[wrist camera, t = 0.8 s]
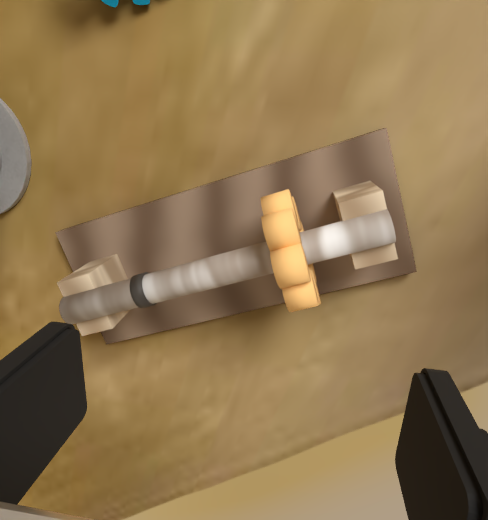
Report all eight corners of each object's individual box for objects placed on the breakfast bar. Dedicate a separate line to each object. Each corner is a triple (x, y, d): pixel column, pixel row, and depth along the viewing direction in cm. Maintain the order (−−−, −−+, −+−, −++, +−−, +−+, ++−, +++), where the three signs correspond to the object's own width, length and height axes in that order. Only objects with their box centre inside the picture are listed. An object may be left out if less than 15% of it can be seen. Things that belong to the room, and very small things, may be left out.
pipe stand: (383, 128, 31) (408, 128, 24) (412, 266, 35) (442, 304, 27) (62, 229, 38) (5, 254, 31) (111, 338, 41) (70, 384, 34)
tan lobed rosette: (290, 181, 32) (286, 200, 23) (318, 281, 34) (323, 330, 26) (266, 188, 32) (253, 209, 24) (295, 286, 34) (293, 337, 26)
